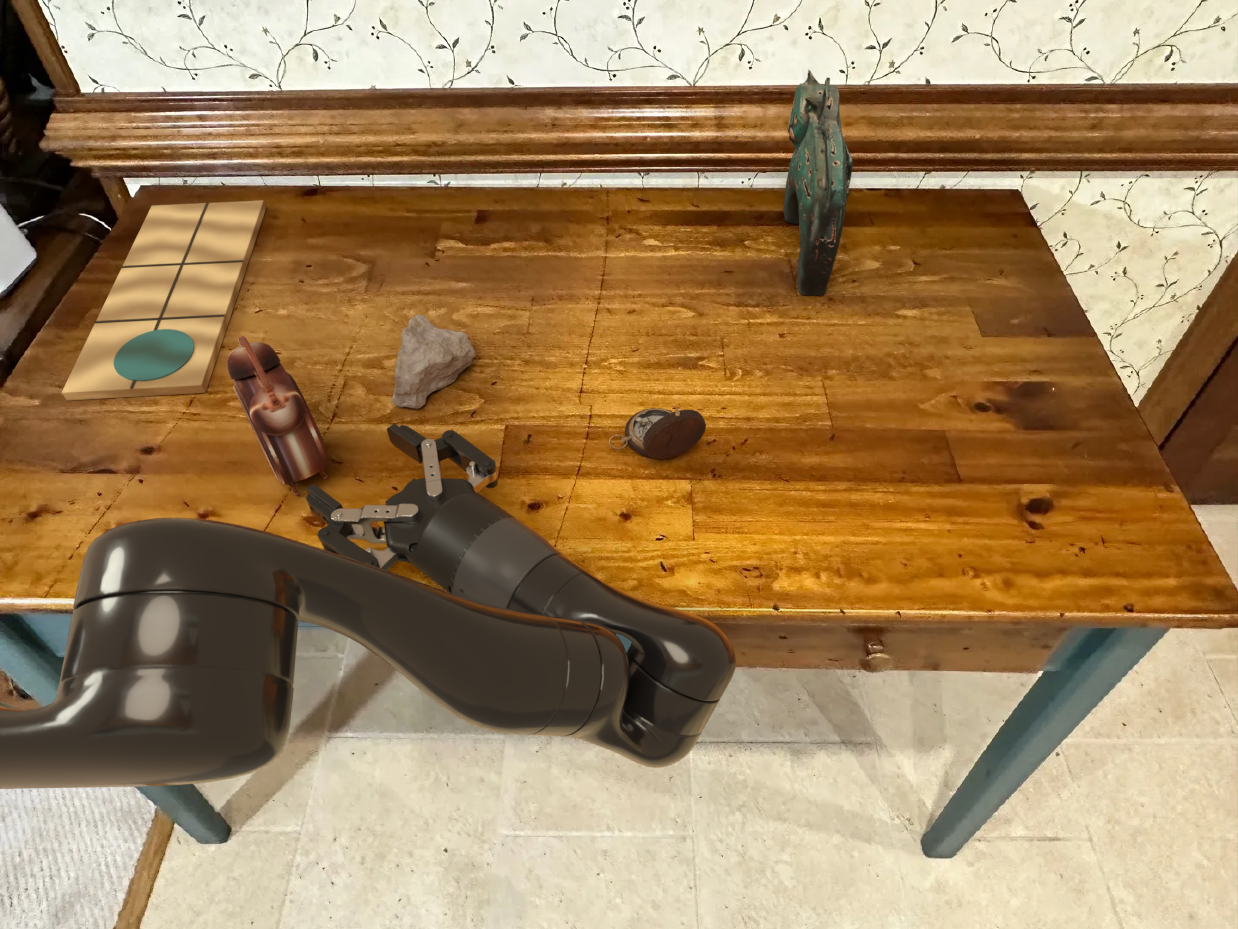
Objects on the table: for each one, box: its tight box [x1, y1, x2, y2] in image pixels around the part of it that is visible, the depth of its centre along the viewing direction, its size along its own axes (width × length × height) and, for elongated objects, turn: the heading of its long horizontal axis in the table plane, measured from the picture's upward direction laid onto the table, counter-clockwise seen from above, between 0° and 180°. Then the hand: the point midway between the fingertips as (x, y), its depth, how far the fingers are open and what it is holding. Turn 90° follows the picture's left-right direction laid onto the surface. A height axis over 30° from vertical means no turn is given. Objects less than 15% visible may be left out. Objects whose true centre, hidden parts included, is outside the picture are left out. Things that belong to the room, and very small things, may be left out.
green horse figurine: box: [782, 69, 854, 297], centre depth 99 cm, size 20×6×20 cm, turn 178°
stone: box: [390, 314, 477, 410], centre depth 90 cm, size 10×8×6 cm
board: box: [61, 200, 267, 402], centre depth 101 cm, size 34×14×1 cm, turn 4°
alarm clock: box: [226, 335, 329, 497], centre depth 78 cm, size 11×5×15 cm, turn 33°
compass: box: [608, 406, 707, 460], centre depth 83 cm, size 8×8×7 cm
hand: (352, 462), depth 73 cm, fingers open, 8 cm apart
